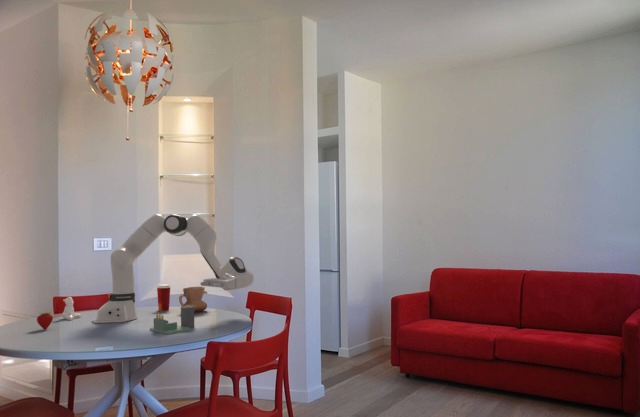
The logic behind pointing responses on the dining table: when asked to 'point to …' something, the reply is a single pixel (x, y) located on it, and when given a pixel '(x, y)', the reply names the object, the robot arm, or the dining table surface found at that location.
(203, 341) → the dining table surface
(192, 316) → the plug block
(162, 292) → the coffee cup
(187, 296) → the ceramic jug
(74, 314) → the white creature statuette
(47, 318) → the strawberry
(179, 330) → the header board
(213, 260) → the robot arm
